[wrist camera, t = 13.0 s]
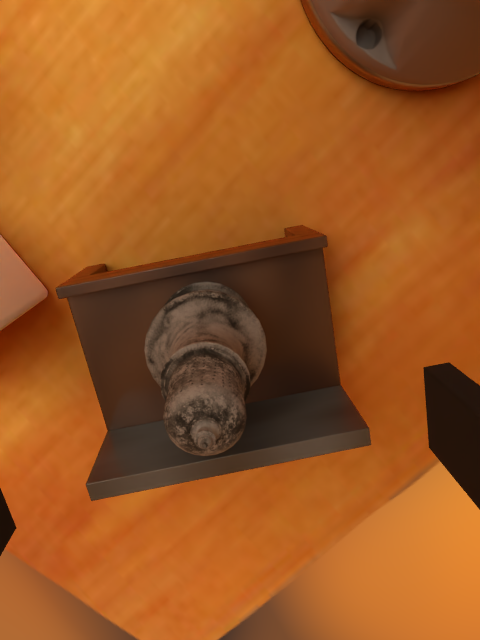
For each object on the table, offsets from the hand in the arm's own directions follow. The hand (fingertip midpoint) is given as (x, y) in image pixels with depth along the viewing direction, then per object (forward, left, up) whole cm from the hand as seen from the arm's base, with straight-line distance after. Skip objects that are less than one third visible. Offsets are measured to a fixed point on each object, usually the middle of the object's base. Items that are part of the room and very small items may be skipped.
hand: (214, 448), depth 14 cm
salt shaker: (0, 0, -13) cm, 13 cm away
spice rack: (0, +1, -17) cm, 17 cm away
